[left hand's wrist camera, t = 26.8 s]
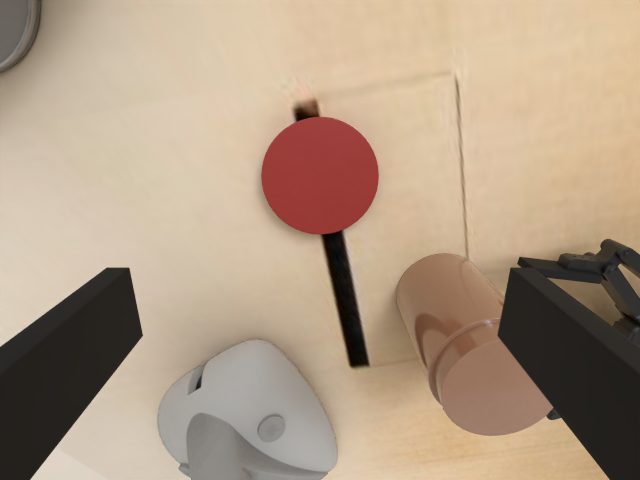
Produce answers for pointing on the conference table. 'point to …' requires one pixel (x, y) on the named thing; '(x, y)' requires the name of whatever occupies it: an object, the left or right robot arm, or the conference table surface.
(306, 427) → the projector
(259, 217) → the conference table surface
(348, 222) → the lid
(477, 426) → the jar
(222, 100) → the conference table surface
